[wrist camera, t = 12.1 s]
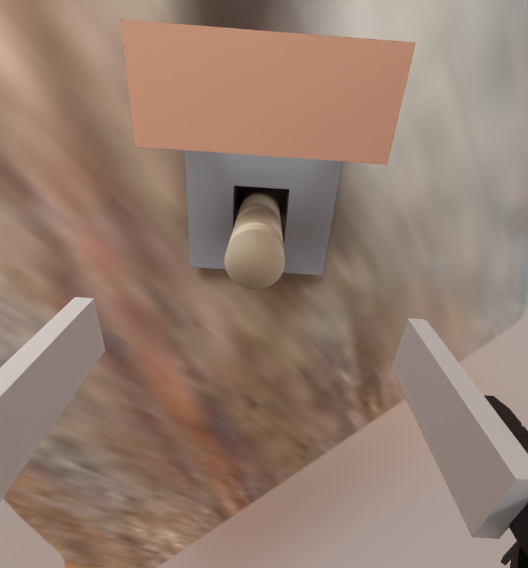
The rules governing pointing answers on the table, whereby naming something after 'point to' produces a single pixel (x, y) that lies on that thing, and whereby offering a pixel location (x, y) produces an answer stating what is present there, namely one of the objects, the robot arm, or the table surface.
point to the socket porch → (263, 121)
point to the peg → (256, 242)
